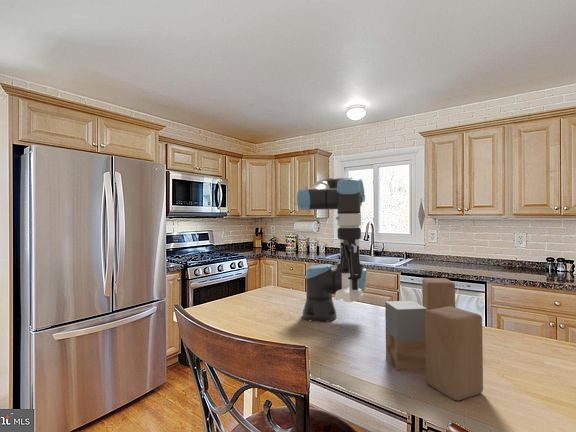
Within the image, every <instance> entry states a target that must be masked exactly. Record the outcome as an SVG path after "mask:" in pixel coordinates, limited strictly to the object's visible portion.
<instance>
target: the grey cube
mask: <svg viewBox="0 0 576 432" xmlns="http://www.w3.org/2000/svg"><path fill="white" fill-rule="evenodd" d="M384 307H385V316H384V317H385V332H386V331H387V332H389V333H390V334H391V335H392V336H393V337H394V338H395V339H396V340H397V341H398V340H423V339H425V312H426V310H427V308H425V307H423V305H421V304H419V303H418V302H416V301H415V300H397V301H395V300H393V301H391V300H389V301H387V300H386V301H385V304H384Z"/></svg>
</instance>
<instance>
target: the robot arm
mask: <svg viewBox="0 0 576 432" xmlns="http://www.w3.org/2000/svg"><path fill="white" fill-rule="evenodd" d="M365 202H366V195H365V186H364V182H363V179H362V178H360V177H353V176H351V177H329V178H324V179H320V180H318V181H316V182H314V183H313V184H312V185H311V186H310V188H304V189H299V190H298V191H297V193H296V204H297V205H296V206H297V208H298V209H299V210H305V211H310V210H313V211H314V210H319V211H320V210H337V213H336V214H337V216H336V217H335V220H336V221H337V226H338V228H337V239H338V240H340V241H339V245H340V246H339V247H340V248H339V251H340V253H339V254H340V255H339V258H340V259H339V261H338V262H337V264H336V267H333V265H332V264H331V263H322V264H315V265H312V266H309V267H307V268H306V271H305V273H306V275H305V279H306V281H305V285H306V288H305V290H306V291H305V292H306V300H305V304H304V306H303V310H302V318H303V317H304V318H305V320H306V319H307V321H309V320H311V321H310V322H314V321H320V322H319V323H324V322H325V323H326V321H327V322H331V320H332V321H335V320H336V319H337V311H336V308H335V307H336V306H335V304H334V302H333V295H336V291H338V290H340V289H343V288H347V287H349V299H350V300H357V301H359V300H360V299H359V289H361V290H362V294H364V293H365V289H366V282H367V274H368V273H367V272H368V271H367V268H365V267H364V263H363V262H362V261H361V260H360V259H361V257H360V254H361V253H360V240H361V239H362V229H361V226H362V214H361V207H362V206H363V205H362V204H363V203H365ZM304 318H303V319H304ZM335 318H336V319H335Z"/></svg>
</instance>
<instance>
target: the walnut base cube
mask: <svg viewBox="0 0 576 432" xmlns="http://www.w3.org/2000/svg"><path fill="white" fill-rule="evenodd" d="M385 359H386V360H387V361H388V362H389V364H390V365H391V366H392V367H393V368H394V370H396V371H397V372H400V373H401V372H417V371H421V372H422V371H426V355H425V339H423V340H398V341H397V340H396V339H395V338H394V337H393V336H392V335H391V334H390V333H389V332H387V331H386V330H385Z"/></svg>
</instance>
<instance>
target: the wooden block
mask: <svg viewBox="0 0 576 432" xmlns="http://www.w3.org/2000/svg"><path fill="white" fill-rule="evenodd" d="M421 284H422V286H421V287H422V291H421V292H422V293H421V295H422V306H423V307H425V308H427V310H430V309H436V308H442V307H449V306H452V307H455V308H456V284H455V283H454V281H452V280H450V279H448V278H444V277H443V278H442V277H440V278H439V277H423V278H422V282H421Z"/></svg>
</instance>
